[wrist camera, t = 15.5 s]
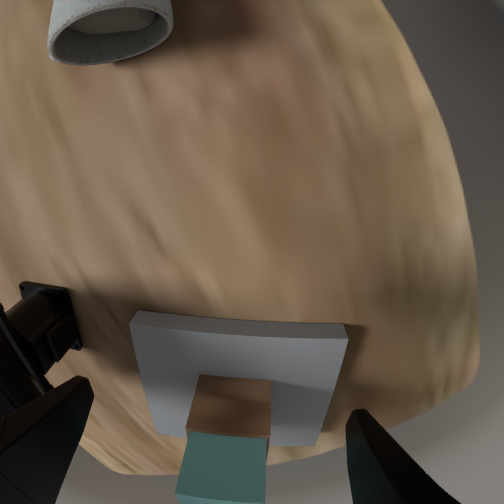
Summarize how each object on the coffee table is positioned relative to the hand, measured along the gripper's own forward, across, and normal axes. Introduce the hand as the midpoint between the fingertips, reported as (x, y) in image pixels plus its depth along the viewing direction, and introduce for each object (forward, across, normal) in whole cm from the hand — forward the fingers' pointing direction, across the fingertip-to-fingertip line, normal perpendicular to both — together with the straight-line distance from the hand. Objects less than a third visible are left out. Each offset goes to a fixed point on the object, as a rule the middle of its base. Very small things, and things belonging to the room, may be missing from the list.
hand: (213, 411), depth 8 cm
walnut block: (+11, 0, +12) cm, 16 cm away
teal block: (+5, 0, +12) cm, 13 cm away
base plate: (+13, 0, +12) cm, 17 cm away
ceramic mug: (+13, +10, -18) cm, 24 cm away
